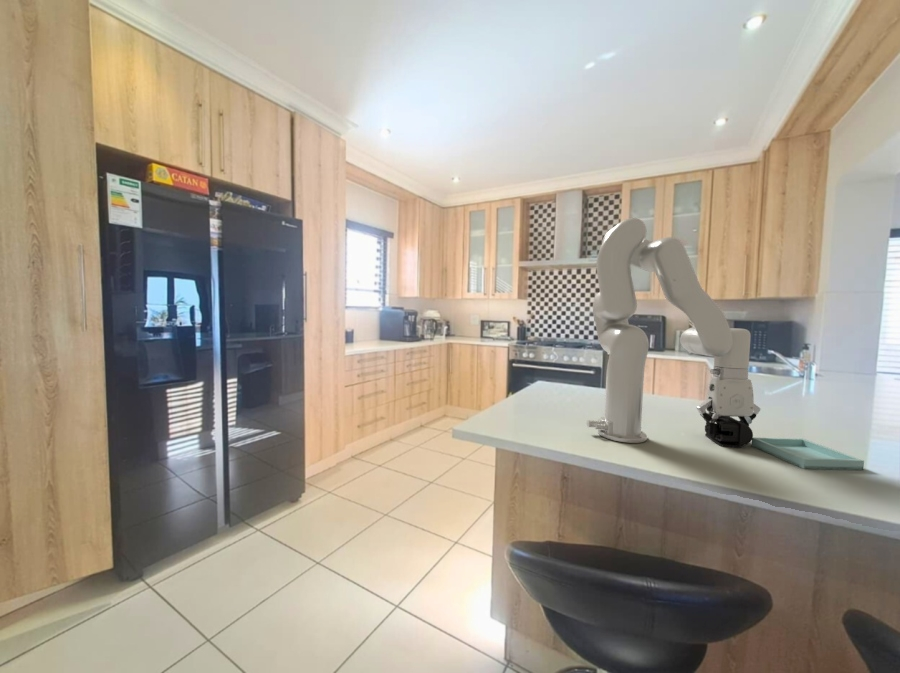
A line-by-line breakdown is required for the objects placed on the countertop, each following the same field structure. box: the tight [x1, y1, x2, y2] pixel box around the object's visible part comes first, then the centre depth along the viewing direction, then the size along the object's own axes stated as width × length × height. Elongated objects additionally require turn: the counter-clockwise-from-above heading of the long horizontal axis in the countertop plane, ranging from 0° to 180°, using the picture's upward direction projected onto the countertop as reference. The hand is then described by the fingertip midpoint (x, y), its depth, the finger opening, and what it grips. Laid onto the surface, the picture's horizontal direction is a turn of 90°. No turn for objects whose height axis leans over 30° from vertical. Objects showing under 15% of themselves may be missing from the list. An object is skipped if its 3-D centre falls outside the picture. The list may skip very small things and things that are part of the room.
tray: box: [751, 437, 865, 471], centre depth 91 cm, size 14×15×2 cm
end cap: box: [704, 416, 754, 449], centre depth 100 cm, size 10×7×7 cm
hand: (726, 436), depth 101 cm, fingers closed on end cap, 8 cm apart
